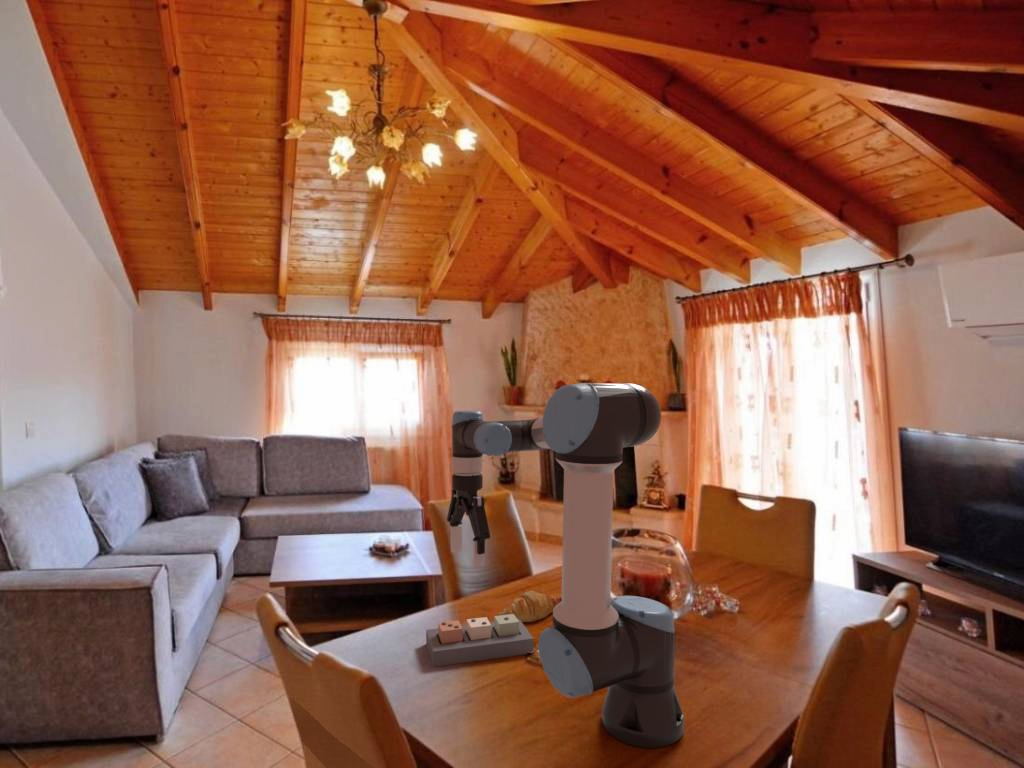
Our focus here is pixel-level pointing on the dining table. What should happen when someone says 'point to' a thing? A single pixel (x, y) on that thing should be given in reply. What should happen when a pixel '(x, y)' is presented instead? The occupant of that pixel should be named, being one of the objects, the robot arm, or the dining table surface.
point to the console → (478, 646)
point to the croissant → (531, 606)
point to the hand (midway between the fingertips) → (467, 558)
